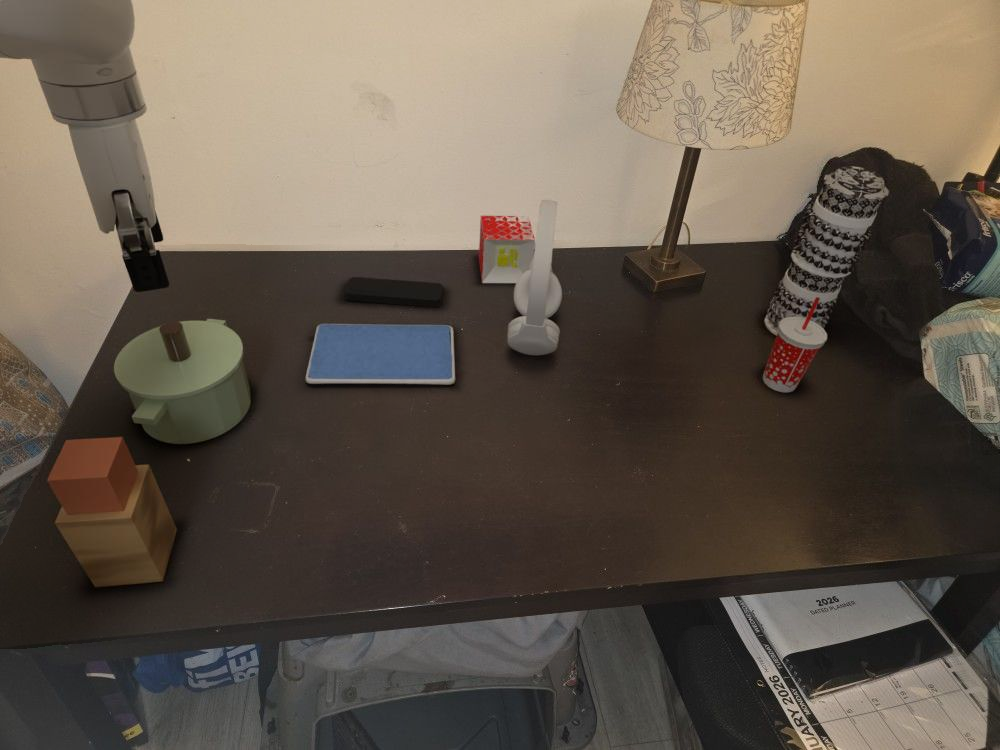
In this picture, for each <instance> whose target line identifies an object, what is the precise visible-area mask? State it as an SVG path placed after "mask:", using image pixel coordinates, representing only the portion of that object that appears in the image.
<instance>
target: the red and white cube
mask: <svg viewBox="0 0 1000 750" xmlns="http://www.w3.org/2000/svg"><path fill="white" fill-rule="evenodd" d="M478 244H479V246H478V262H479V263H478V264H479V270H480V278H481V283H482V284H516V283H517V281H518V280H519V278H520V277H521V276H522V275H523V273H525V272H526V271H527V270H528V267H529V265H530V263H531V261H532V259H533V256H534V251H535V244H536V237H535V234H534V231H533V227H532V223H531V220H530V216H527V215H525V216H524V215H480V224H479V243H478Z"/></svg>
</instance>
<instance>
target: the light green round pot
mask: <svg viewBox="0 0 1000 750" xmlns="http://www.w3.org/2000/svg"><path fill="white" fill-rule="evenodd" d="M205 321H209V322H214V323H218V324H221V325H224V326H226V327H228V323H227V320H225V319H224V320H223V319H216V318H206V320H205ZM125 391H126V393H127V396H128V398H129V400H130V403H131V406H132V407H133V410H134V412H133V414H132V415H131V419H132V421H133V423H134V424H138V425H141V426H142V429H143V431H144V432H145V433H146V434H148V436H150V437H151V438H153V439H155V440H157V441H160V442H162V443H166V444H173V445H188V444H189V445H190V444H196V443H201V442H205V441H209V440H212V439H215V438H217V437H219V436H221V435H223V434H225V433H227V432H228V431H230V430H232V429H233V428H234V427H236V426H237V425H238V424H239V423H240V422H241V421H242V420H243V419H244V418H245V416H246V415H247V413H248V411H249V409H250V407H251V403H252V396H251V387H250V384H249V380H248V375H247V371H246V368H245V363H244V360H243V358H242V361H241V363H240V365H239V367H238V368H237V369H236V371H235V372H234V373H233V374H232V375H231V376H230V377H228V378H227V379H226V380H225V381H223V382H222V383H220V384H218V385H217V386H215V387H213V388H211V389H209V390H206V391H204V392H201V393H198V394H195V395H192V396H188V397H183V398H177V399H149V398H144V397H140V396H137V395H134V394H132V393H130V392H128V391H127V390H125Z"/></svg>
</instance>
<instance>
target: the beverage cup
mask: <svg viewBox="0 0 1000 750" xmlns="http://www.w3.org/2000/svg"><path fill="white" fill-rule="evenodd" d="M819 300H820V298H818V297H816V299H815V301H814V303H813V305H812V307H811V310H810V312H809V314H808V316H807V318H806V319H805V318H801V317H787V318H784V319H782V320H781V321H780V322H779V326H778V329H777V332H778V334H777V336H776V335H775V336H776V337H775V340H774V342H773V345H772V348H771V351H770V354H769V356H768V359H767V362H766V366H765V368H764V371H763V373H762V381H763V383H764V384H765V385H766V386H767V387H768V388H770V389H772V390H774V391H775V392H776V391H777V392H780V393H792V392H794V391H795V390H796V388H798V385H799V384H800V382H801V380H802V378H803V377H804V376H805V374H806V372H807V370H808V368H809V367H810V365H811V364H812V362H813V360H814V358H815V357H816V355H817V353H818V352H819V350H820V348H822V347H823V346H824V345H825V343H826V342H827V340H828V333H827V332H826V330H825V329H824V328H822V327H821V326H820V325H818V324H817V323H815V322H813V321H811V320H810V319H811V317H812V315H813V312H814V310H815V308H816V306H817V304H818V302H819Z"/></svg>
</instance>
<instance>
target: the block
mask: <svg viewBox="0 0 1000 750" xmlns="http://www.w3.org/2000/svg"><path fill="white" fill-rule="evenodd" d="M135 465H136V463H135V461H134V458H133V457H132V455H131V453H130V449H129V448H128V446H127V444H126V441H125V439H124V437H123V436H116V437H115V436H114V437H99V438H98V437H96V438H95V437H94V438H79V439H67V440H65V442H64V444H63V445H62V448H61V451H60V452H59V454H58V457H57V458H56V461H55V462H54V465H53V466H52V469H51V470H50V473H49V474H48V477H47V479H46V482H47V483H48V485H49V487H50V489H51V490H52V492H53V494H54V495H55V497H56V499H57V500H58V502H59V504H60V505H61V508H62V507H63V508H64V510H65V512H66V513H67V515H70V514H84V513H98V512H112V511H124V509H125V506H126V503H127V501H128V498H129V495H130V492H131V489H132V486H133V484H134V481H135V478H136V475H137V472H138V470H137V468H136V466H135Z"/></svg>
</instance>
